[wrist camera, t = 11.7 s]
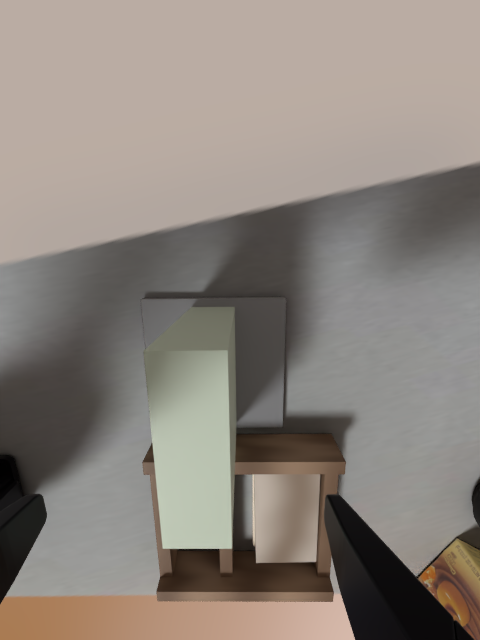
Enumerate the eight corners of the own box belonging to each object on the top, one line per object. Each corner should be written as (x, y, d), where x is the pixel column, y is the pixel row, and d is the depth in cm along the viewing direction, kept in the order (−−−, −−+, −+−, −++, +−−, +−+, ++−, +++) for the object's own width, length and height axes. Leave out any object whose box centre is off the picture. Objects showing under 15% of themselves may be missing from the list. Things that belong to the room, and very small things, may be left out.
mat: (155, 423, 21) (152, 428, 20) (143, 298, 19) (140, 299, 18) (281, 422, 21) (282, 427, 20) (284, 297, 18) (286, 298, 18)
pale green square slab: (197, 422, 20) (162, 548, 11) (191, 307, 18) (143, 350, 9) (236, 422, 20) (232, 548, 11) (234, 306, 18) (227, 350, 9)
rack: (167, 559, 24) (157, 601, 21) (156, 434, 21) (142, 462, 18) (321, 559, 24) (332, 601, 21) (331, 433, 21) (345, 462, 18)
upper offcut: (255, 547, 23) (256, 562, 22) (253, 460, 21) (254, 472, 20) (312, 546, 23) (316, 561, 22) (316, 458, 21) (320, 470, 20)
